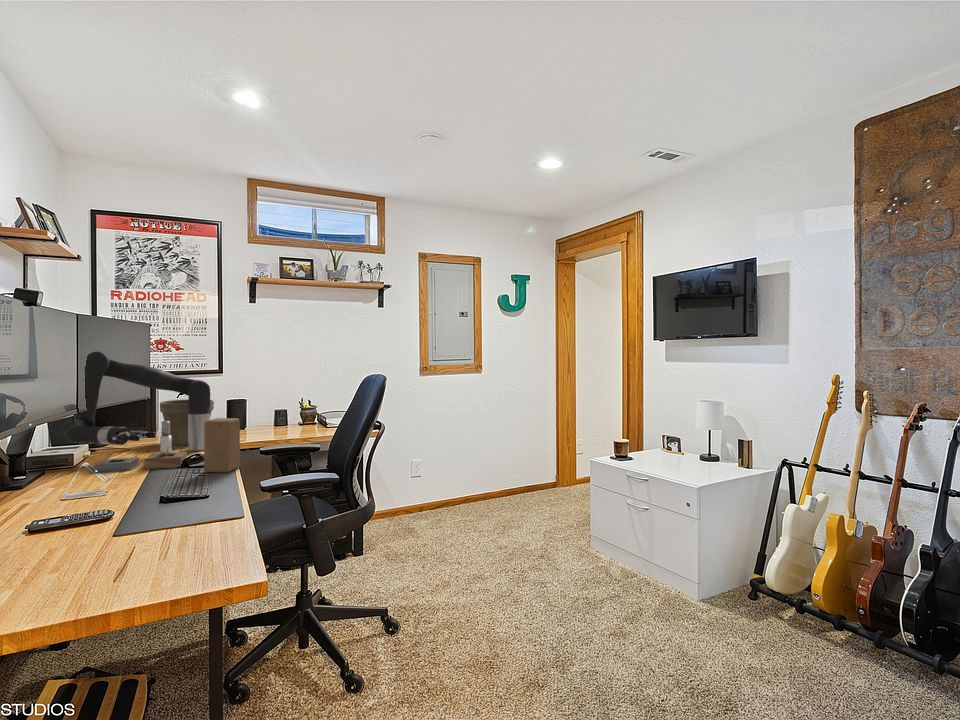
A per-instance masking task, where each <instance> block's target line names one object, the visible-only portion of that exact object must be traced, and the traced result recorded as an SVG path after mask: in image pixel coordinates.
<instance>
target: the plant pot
mask: <svg viewBox="0 0 960 720" xmlns="http://www.w3.org/2000/svg"><path fill="white" fill-rule="evenodd" d="M188 405H189V398H188V399H172V400H171V399H170V400H165V401H160V402H159V411H160V413H162V417H163V420H164V421H170V435H171V439H172V445H174V446H188ZM214 408H215V401H214V399H213V400H211V399H210V417H211V415H212V411H213V410H214Z"/></svg>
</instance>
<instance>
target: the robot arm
mask: <svg viewBox="0 0 960 720" xmlns="http://www.w3.org/2000/svg"><path fill="white" fill-rule="evenodd" d="M87 355H88V356H87ZM87 355H86V356H87V360H86V366H85V367H84V374H85V399H86V408H87V410H90V411H86V412H82V413H79V414H76V415H75V414H74V419H75V420H77V421H79V422H80V425H78V424H77V425H72V426H69V427H68V428H67V429H66V430H65V432H64V437H65V439H66V440H67V441H68V442H71V443H76V444H90V443H92V444H99V445H100V444H101V445H103V444H104V445H111V446H112V445H114V446H115V445H116V446H122V445H125V444H126V443H128V442H133V441H134V442H139V441H140V440H142V439H149V438H150V439H151V438H153V439H155V438H157V433H156V431H155V432H154V431H153V432H152V431H150V430H129V429H128V428H127V427H125V426H96V420H95V417H96V412H97V406H98V403H99V396H100V395H99V394H100V389H101V385H102V380H103V377H109V378H115V379H118V380H122V381H125V382H128V383H132V384H134V385H138V386H142V387H147V388H150V389H155V390H161V391H171V392H175V393H180V394H181V395H185V396H187V397H188V399H189V405H188V445H187V447H188V449H187V451H193V452H197V451H204V422H205V421H207V420H211V416H210V400H211V387H210V385H209V383H207V382H206V381H204V380H200V379H193V378H186V377H181V376H179V375H177V374H173V373H171V372H168V371H165V370H162V369H161V368H160V369H159V368H156V367H154V366H148V365H144V364H136V363H135V364H133V363H125V362H120V361H117V360H113V359H111V358H109V356H108V355H107V354H105V353H104V352H102V351H92V352H90V353H88V354H87Z"/></svg>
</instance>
